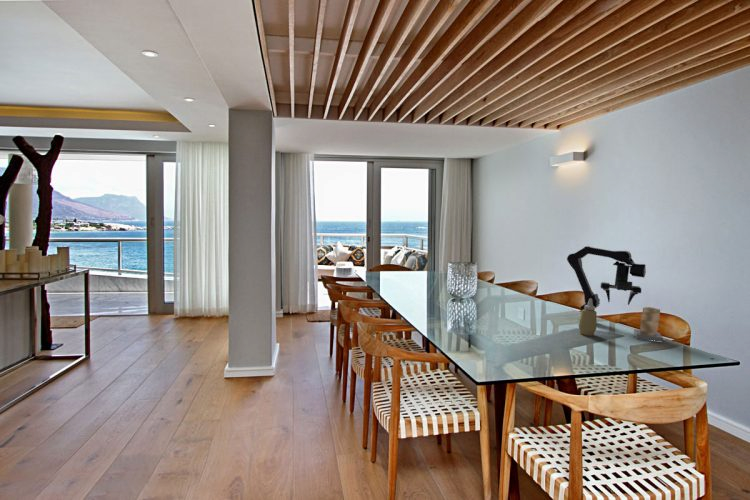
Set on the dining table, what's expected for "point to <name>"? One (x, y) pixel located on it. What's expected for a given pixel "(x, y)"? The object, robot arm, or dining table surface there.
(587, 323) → the squeeze bottle
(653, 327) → the oak block
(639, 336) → the slate base
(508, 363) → the dining table surface
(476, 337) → the dining table surface
